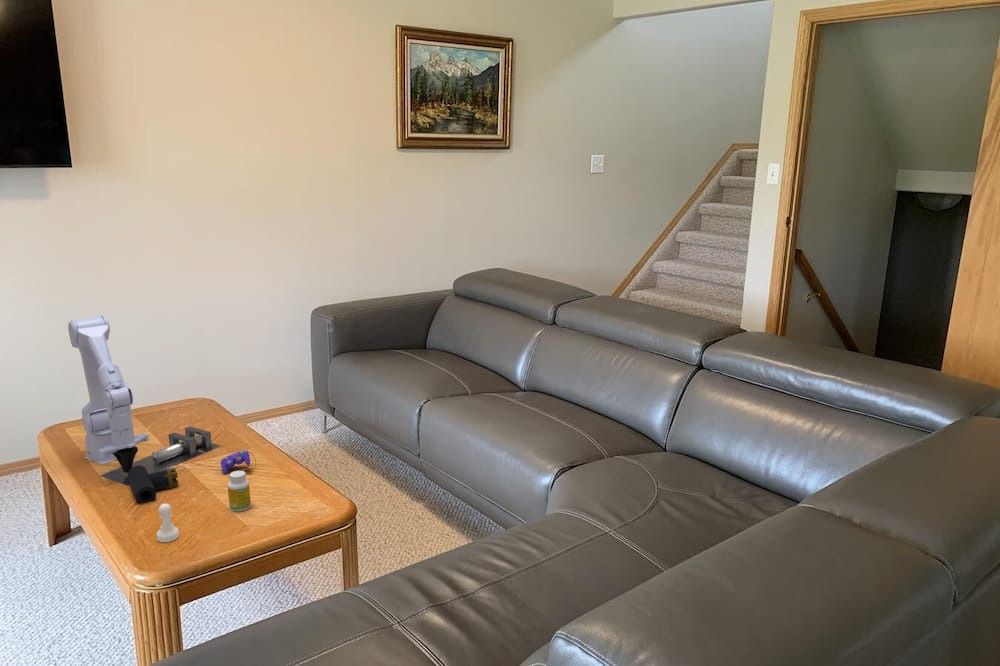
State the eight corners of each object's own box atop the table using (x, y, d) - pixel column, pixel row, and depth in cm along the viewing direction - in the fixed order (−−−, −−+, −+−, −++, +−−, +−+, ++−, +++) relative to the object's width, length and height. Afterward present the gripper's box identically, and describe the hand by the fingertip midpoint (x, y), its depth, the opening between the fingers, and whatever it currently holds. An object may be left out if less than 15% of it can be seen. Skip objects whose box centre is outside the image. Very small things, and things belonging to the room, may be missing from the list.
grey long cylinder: (159, 465, 224) (159, 454, 223) (151, 461, 226) (151, 450, 225) (209, 445, 239) (209, 434, 238) (201, 441, 241) (201, 430, 240)
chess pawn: (166, 531, 187) (163, 498, 185) (183, 534, 186) (180, 501, 183) (152, 541, 182) (148, 507, 180) (169, 544, 181) (165, 510, 179)
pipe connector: (170, 458, 216) (180, 479, 204) (172, 475, 218) (182, 496, 206) (126, 467, 210) (134, 488, 198) (128, 484, 212) (136, 506, 200)
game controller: (214, 470, 213) (216, 450, 222) (226, 490, 218) (227, 470, 226) (248, 457, 215) (248, 438, 223) (259, 478, 219) (259, 458, 227)
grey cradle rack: (99, 477, 217) (97, 458, 215) (194, 439, 244) (192, 422, 243) (128, 487, 210) (125, 468, 209) (222, 447, 238) (220, 430, 237)
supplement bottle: (238, 513, 196) (235, 479, 193) (225, 508, 199) (222, 475, 196) (255, 505, 200) (252, 472, 198) (241, 500, 203) (239, 467, 201)
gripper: (107, 438, 206) (113, 484, 209) (153, 422, 218) (158, 465, 221) (91, 434, 209) (97, 478, 212) (137, 418, 221) (142, 460, 225)
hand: (127, 471), depth 217 cm, fingers closed
